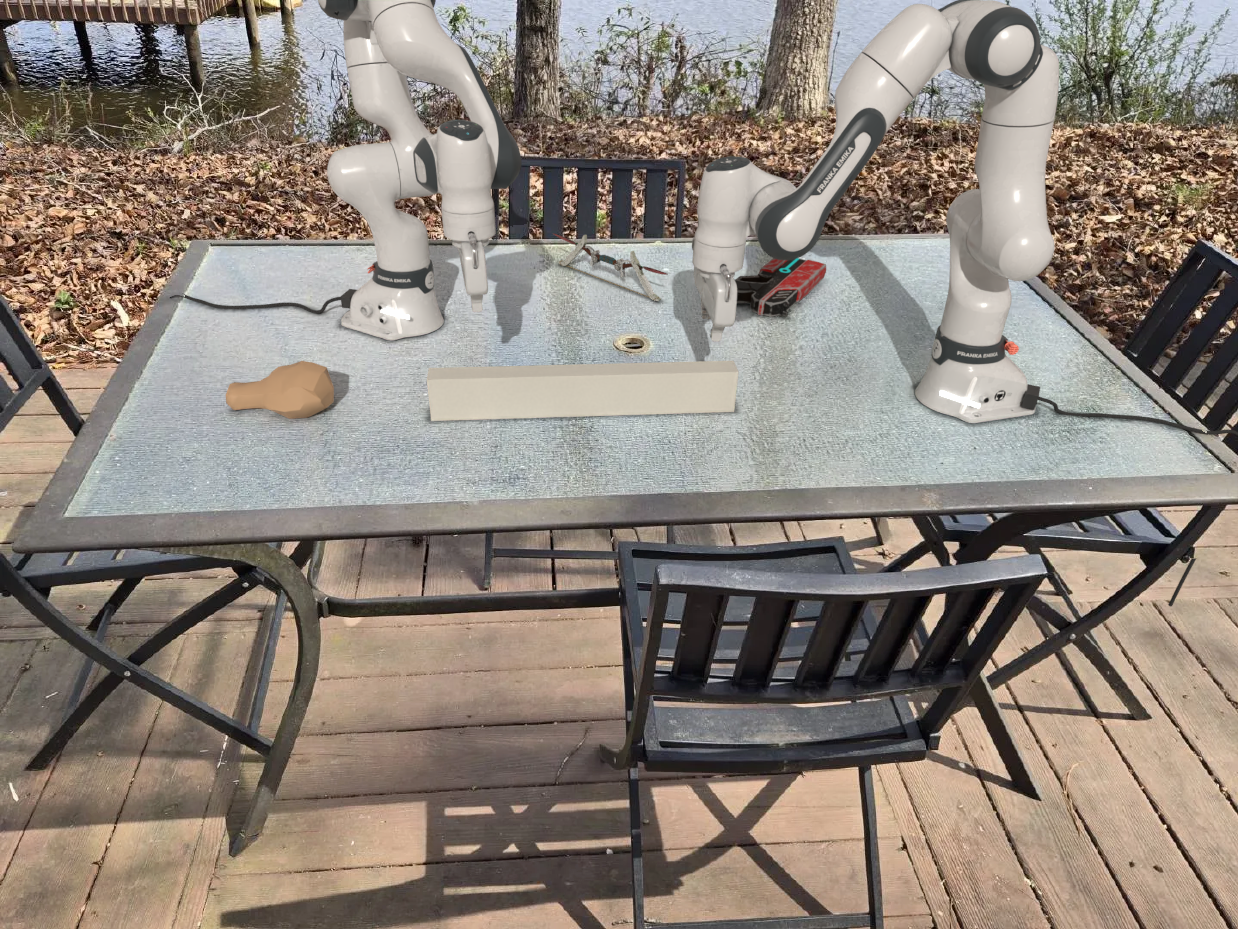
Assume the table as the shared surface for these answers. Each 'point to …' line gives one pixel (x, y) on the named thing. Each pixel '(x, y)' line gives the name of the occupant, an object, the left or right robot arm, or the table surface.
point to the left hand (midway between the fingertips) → (475, 300)
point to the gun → (779, 285)
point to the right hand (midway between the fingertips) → (710, 328)
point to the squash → (286, 391)
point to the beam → (581, 390)
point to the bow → (618, 264)
